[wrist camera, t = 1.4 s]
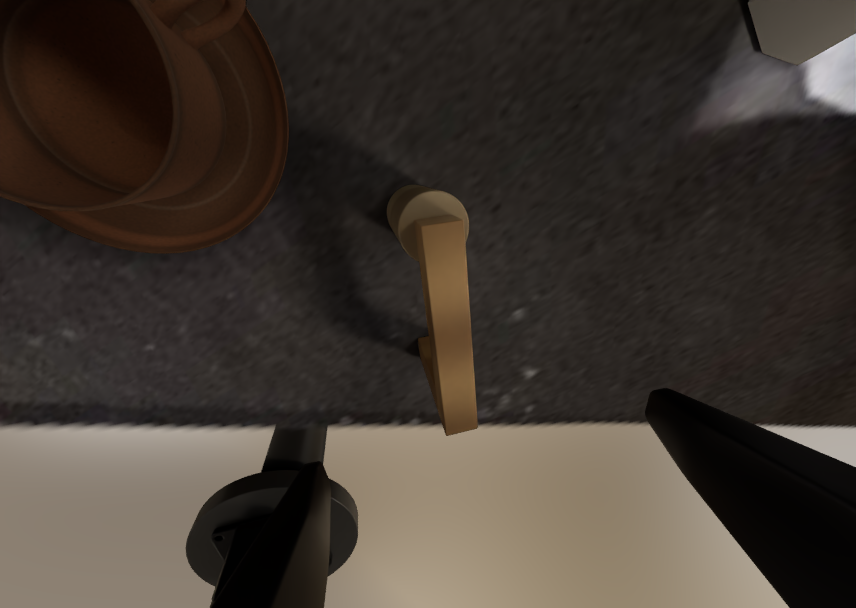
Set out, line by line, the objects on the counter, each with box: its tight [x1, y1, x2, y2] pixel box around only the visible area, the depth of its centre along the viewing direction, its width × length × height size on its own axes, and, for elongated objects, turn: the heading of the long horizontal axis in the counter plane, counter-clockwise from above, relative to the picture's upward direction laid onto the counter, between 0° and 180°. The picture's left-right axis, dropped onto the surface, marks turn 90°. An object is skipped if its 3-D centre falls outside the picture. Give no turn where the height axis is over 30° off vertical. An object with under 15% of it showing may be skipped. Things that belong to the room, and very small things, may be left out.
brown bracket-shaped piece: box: [387, 185, 478, 436], centre depth 17 cm, size 11×3×7 cm, turn 6°
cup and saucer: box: [0, 0, 289, 254], centre depth 12 cm, size 12×12×6 cm
